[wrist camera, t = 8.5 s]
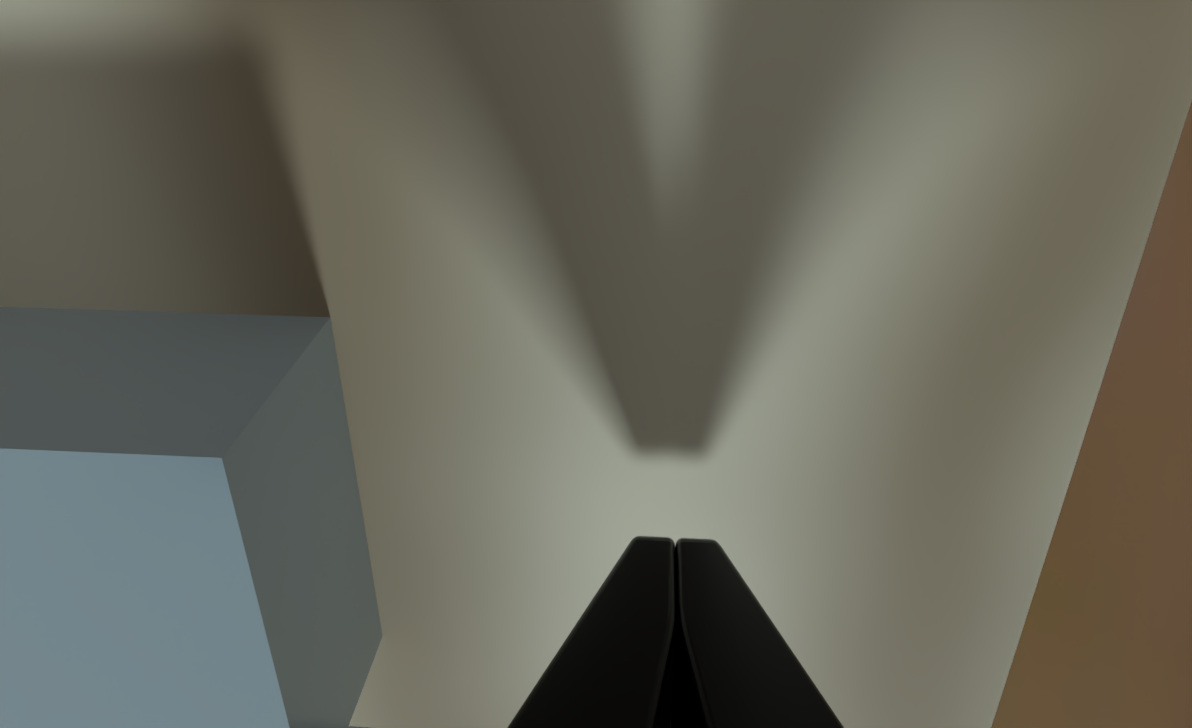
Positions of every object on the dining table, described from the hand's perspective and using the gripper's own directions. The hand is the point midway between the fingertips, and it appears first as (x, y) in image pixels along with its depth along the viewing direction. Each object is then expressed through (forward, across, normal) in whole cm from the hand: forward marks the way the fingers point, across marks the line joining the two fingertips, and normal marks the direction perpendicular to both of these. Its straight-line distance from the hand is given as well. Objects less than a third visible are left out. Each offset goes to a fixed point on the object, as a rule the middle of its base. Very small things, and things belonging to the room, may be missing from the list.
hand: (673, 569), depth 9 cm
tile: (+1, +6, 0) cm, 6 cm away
